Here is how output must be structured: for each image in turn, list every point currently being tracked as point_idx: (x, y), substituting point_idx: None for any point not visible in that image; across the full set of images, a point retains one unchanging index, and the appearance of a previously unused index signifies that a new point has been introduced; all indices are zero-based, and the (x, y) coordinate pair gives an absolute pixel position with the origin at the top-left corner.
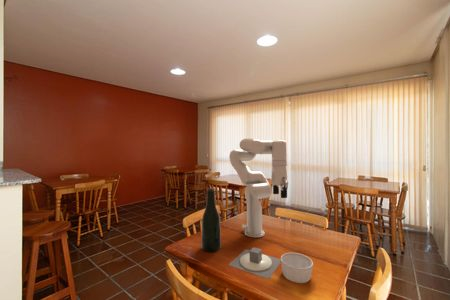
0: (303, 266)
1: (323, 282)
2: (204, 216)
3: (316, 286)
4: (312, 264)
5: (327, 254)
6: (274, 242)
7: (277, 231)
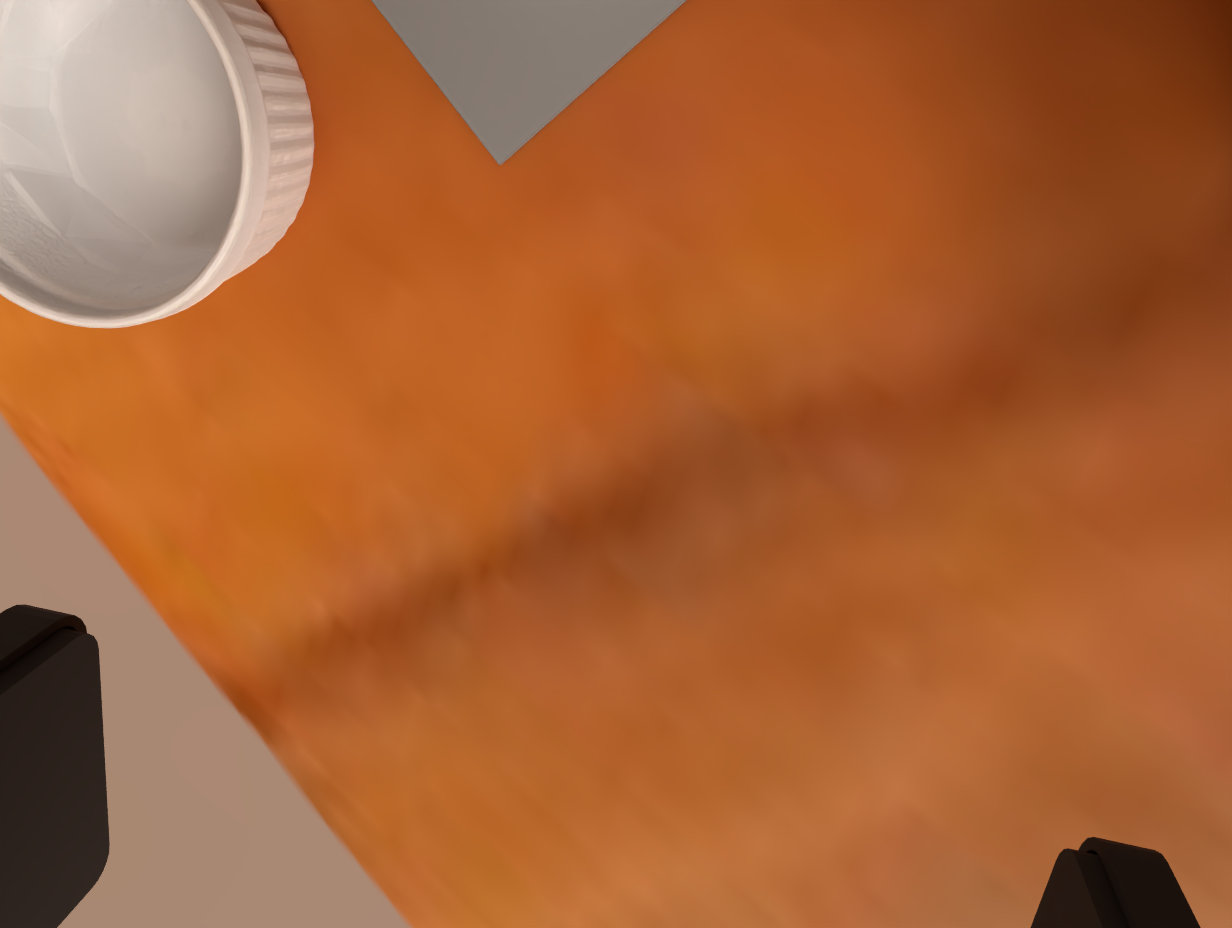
0: (206, 262)
1: None
2: None
3: None
4: None
5: (467, 733)
6: (1002, 368)
7: None
